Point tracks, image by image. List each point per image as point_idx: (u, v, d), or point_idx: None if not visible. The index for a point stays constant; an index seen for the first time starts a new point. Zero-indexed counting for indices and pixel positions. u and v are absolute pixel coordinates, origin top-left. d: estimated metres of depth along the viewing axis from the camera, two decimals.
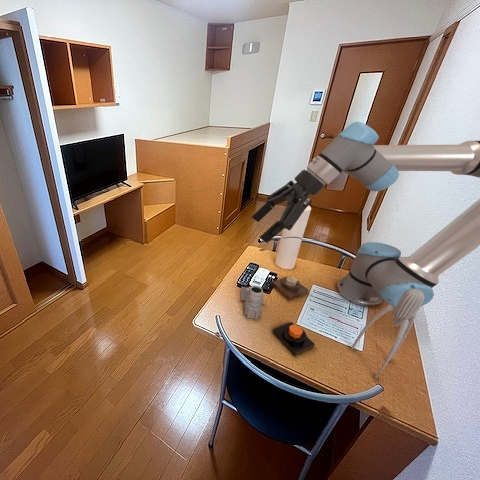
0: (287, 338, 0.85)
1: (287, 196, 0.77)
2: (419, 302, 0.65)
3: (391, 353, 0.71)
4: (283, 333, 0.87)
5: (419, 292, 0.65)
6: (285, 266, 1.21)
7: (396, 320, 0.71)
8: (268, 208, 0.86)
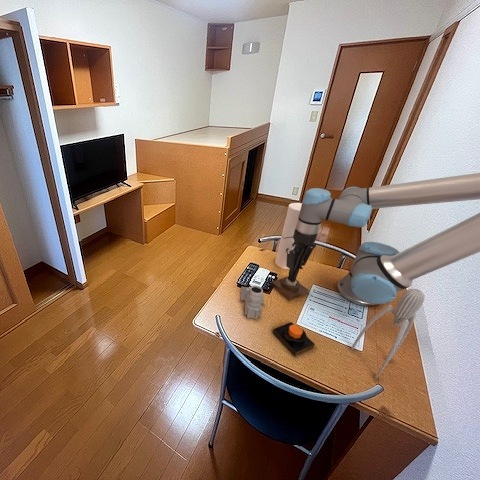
0: (287, 338, 0.85)
1: None
2: (419, 302, 0.65)
3: (391, 353, 0.71)
4: (283, 333, 0.87)
5: (419, 292, 0.65)
6: (285, 266, 1.21)
7: (396, 320, 0.71)
8: None
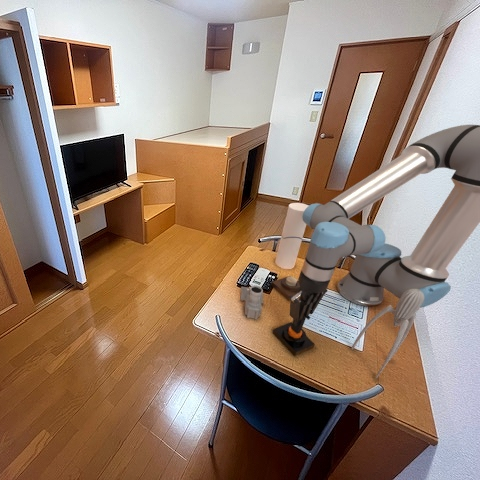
0: (287, 338, 0.85)
1: None
2: (419, 302, 0.65)
3: (391, 353, 0.71)
4: (283, 333, 0.87)
5: (419, 292, 0.65)
6: (285, 266, 1.21)
7: (396, 320, 0.71)
8: None
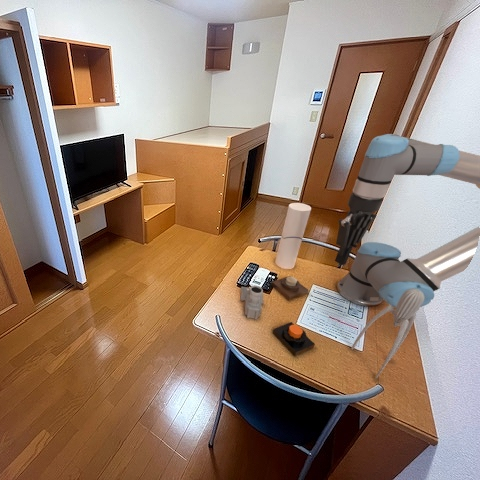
0: (287, 338, 0.85)
1: None
2: (419, 302, 0.65)
3: (391, 353, 0.71)
4: (283, 333, 0.87)
5: (419, 292, 0.65)
6: (285, 266, 1.21)
7: (396, 320, 0.71)
8: None
